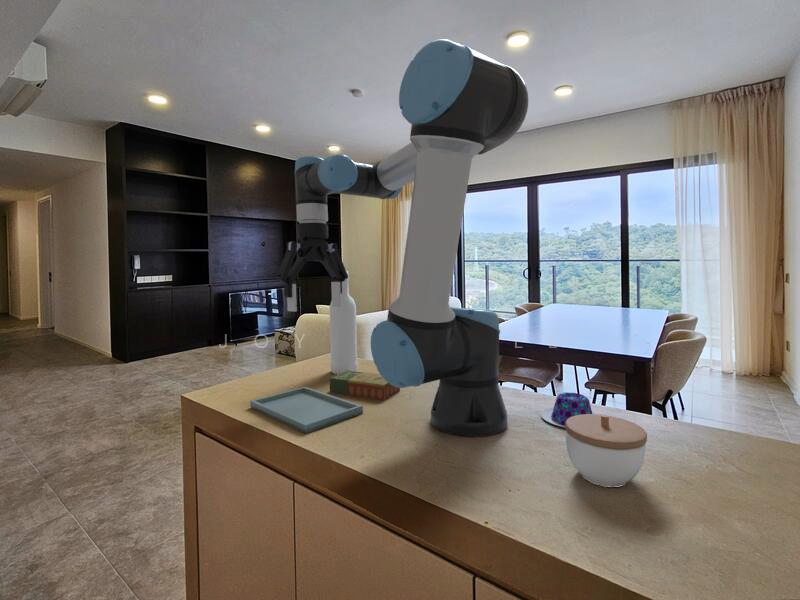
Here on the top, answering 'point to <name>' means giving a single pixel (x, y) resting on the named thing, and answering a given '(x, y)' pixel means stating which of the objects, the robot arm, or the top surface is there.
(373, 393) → the carton
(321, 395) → the tray
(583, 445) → the lidded jar
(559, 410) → the pudding
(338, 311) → the bottle
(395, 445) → the top surface
